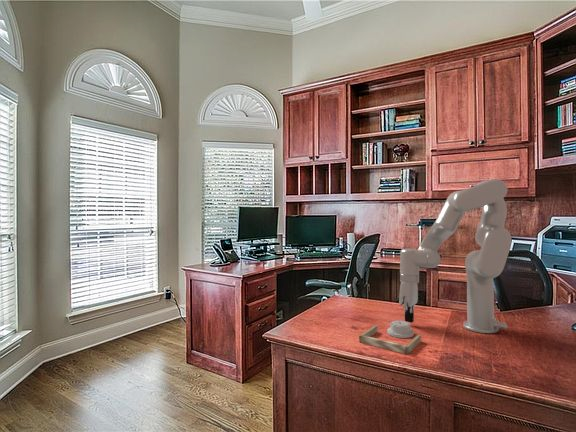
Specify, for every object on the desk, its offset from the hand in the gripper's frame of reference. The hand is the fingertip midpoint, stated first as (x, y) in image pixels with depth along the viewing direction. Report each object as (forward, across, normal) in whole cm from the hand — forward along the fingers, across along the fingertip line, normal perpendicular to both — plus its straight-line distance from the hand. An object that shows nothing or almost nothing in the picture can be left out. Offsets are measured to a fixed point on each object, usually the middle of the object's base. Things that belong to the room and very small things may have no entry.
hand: (409, 321), depth 143 cm
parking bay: (+2, +22, 0) cm, 22 cm away
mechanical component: (+2, +11, 0) cm, 12 cm away
